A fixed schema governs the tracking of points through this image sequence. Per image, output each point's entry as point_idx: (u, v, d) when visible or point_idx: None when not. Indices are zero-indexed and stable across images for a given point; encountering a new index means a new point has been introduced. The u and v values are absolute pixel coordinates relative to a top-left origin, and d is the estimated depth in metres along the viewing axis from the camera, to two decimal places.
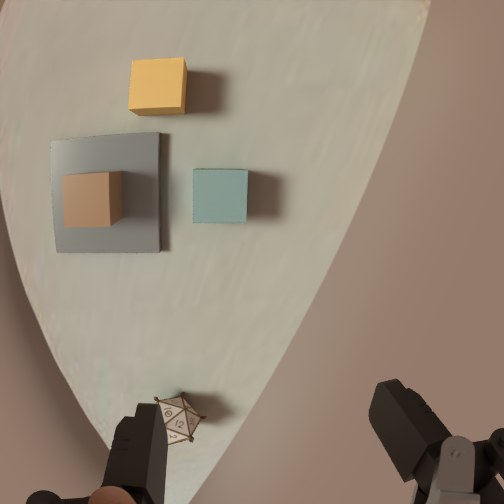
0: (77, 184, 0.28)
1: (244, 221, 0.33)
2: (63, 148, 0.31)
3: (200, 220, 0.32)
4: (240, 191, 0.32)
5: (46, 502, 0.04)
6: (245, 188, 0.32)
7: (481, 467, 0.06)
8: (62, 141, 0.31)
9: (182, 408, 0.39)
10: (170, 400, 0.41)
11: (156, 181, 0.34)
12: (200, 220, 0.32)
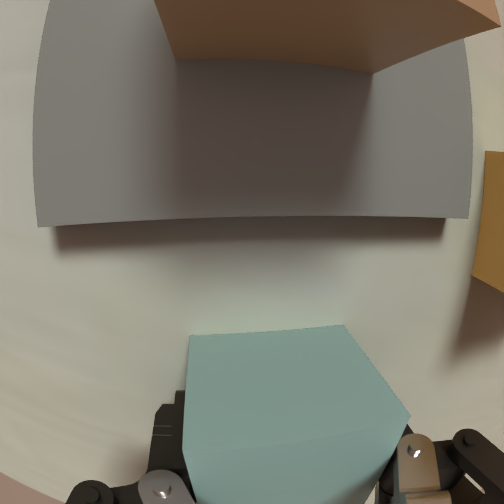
0: None
1: None
2: None
3: (201, 468, 0.06)
4: None
5: (95, 493, 0.05)
6: None
7: (442, 468, 0.06)
8: None
9: None
10: None
11: (328, 210, 0.08)
12: (198, 468, 0.06)
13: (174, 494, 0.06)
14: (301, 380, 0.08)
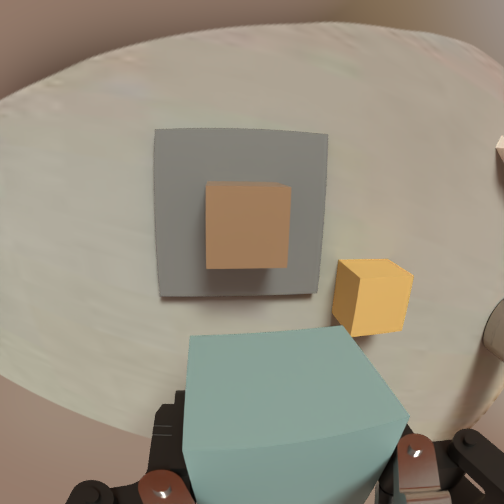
0: (274, 216, 0.20)
1: None
2: (315, 154, 0.25)
3: (201, 468, 0.06)
4: None
5: (95, 492, 0.05)
6: None
7: (442, 468, 0.06)
8: (325, 153, 0.25)
9: None
10: None
11: (255, 293, 0.27)
12: (198, 468, 0.06)
13: (174, 494, 0.06)
14: (300, 381, 0.08)
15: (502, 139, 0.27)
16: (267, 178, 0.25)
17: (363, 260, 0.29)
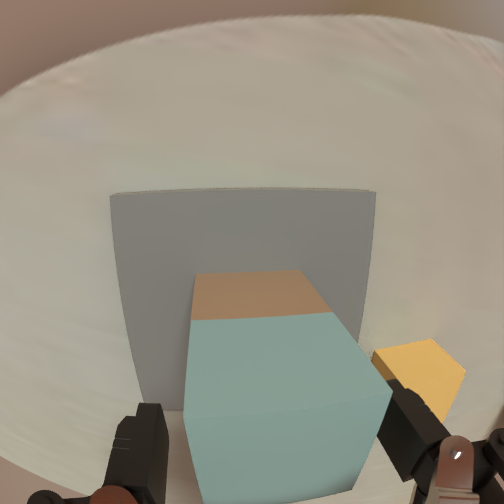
0: None
1: None
2: (356, 224, 0.16)
3: (200, 436, 0.07)
4: (297, 494, 0.08)
5: (47, 502, 0.04)
6: (305, 498, 0.09)
7: (480, 467, 0.06)
8: (371, 222, 0.17)
9: None
10: None
11: None
12: (197, 436, 0.07)
13: None
14: (292, 359, 0.09)
15: None
16: (286, 265, 0.17)
17: (404, 346, 0.21)
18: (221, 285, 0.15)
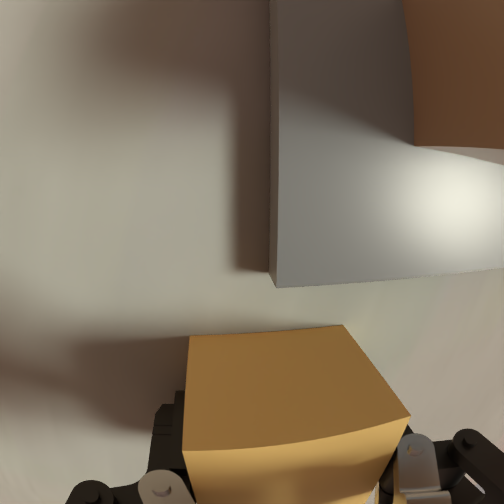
0: None
1: None
2: None
3: None
4: None
5: (95, 492, 0.05)
6: None
7: (442, 468, 0.06)
8: None
9: None
10: None
11: (284, 83, 0.07)
12: None
13: (174, 494, 0.06)
14: None
15: None
16: None
17: None
18: None
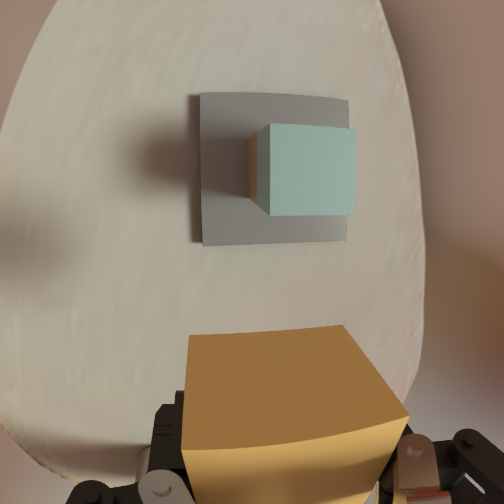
0: None
1: (273, 126, 0.17)
2: (329, 230, 0.30)
3: (344, 133, 0.18)
4: (281, 178, 0.18)
5: (95, 492, 0.05)
6: (273, 184, 0.18)
7: (442, 468, 0.06)
8: (330, 239, 0.30)
9: None
10: None
11: (202, 184, 0.27)
12: (344, 132, 0.18)
13: (174, 494, 0.06)
14: None
15: None
16: None
17: None
18: None
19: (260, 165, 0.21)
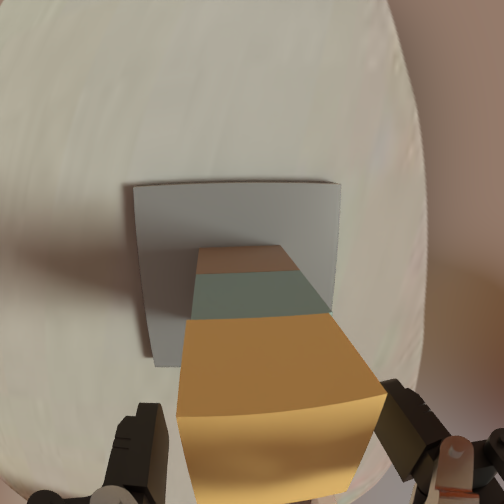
0: None
1: None
2: None
3: None
4: None
5: (47, 502, 0.04)
6: None
7: (480, 467, 0.06)
8: None
9: None
10: None
11: (146, 304, 0.22)
12: None
13: None
14: None
15: None
16: None
17: None
18: None
19: None
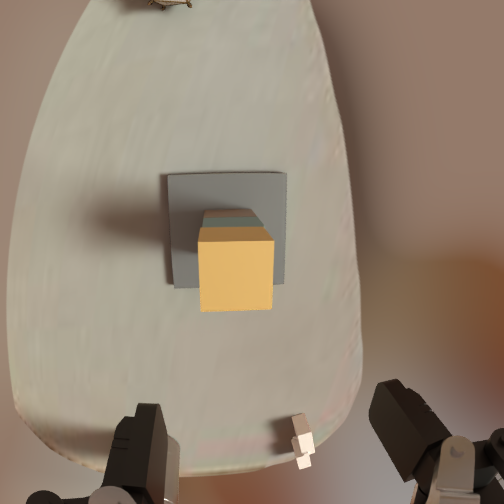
0: None
1: None
2: None
3: None
4: None
5: (46, 502, 0.04)
6: None
7: (481, 467, 0.06)
8: None
9: (155, 0, 0.25)
10: (174, 3, 0.27)
11: (171, 245, 0.37)
12: None
13: None
14: None
15: (300, 416, 0.49)
16: None
17: None
18: None
19: None
